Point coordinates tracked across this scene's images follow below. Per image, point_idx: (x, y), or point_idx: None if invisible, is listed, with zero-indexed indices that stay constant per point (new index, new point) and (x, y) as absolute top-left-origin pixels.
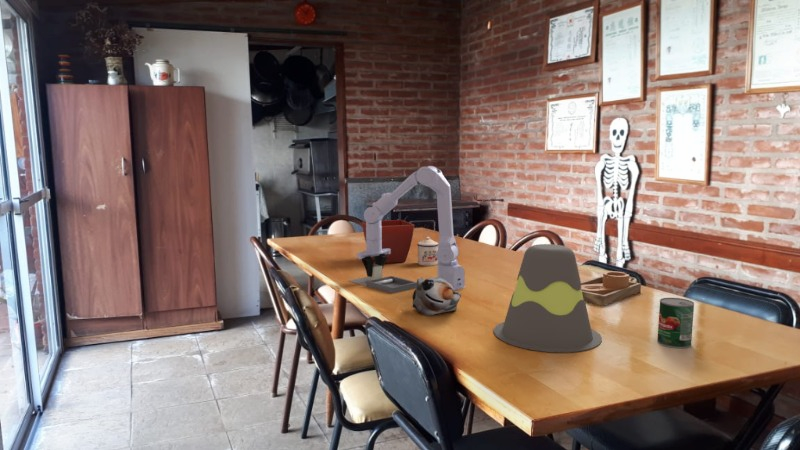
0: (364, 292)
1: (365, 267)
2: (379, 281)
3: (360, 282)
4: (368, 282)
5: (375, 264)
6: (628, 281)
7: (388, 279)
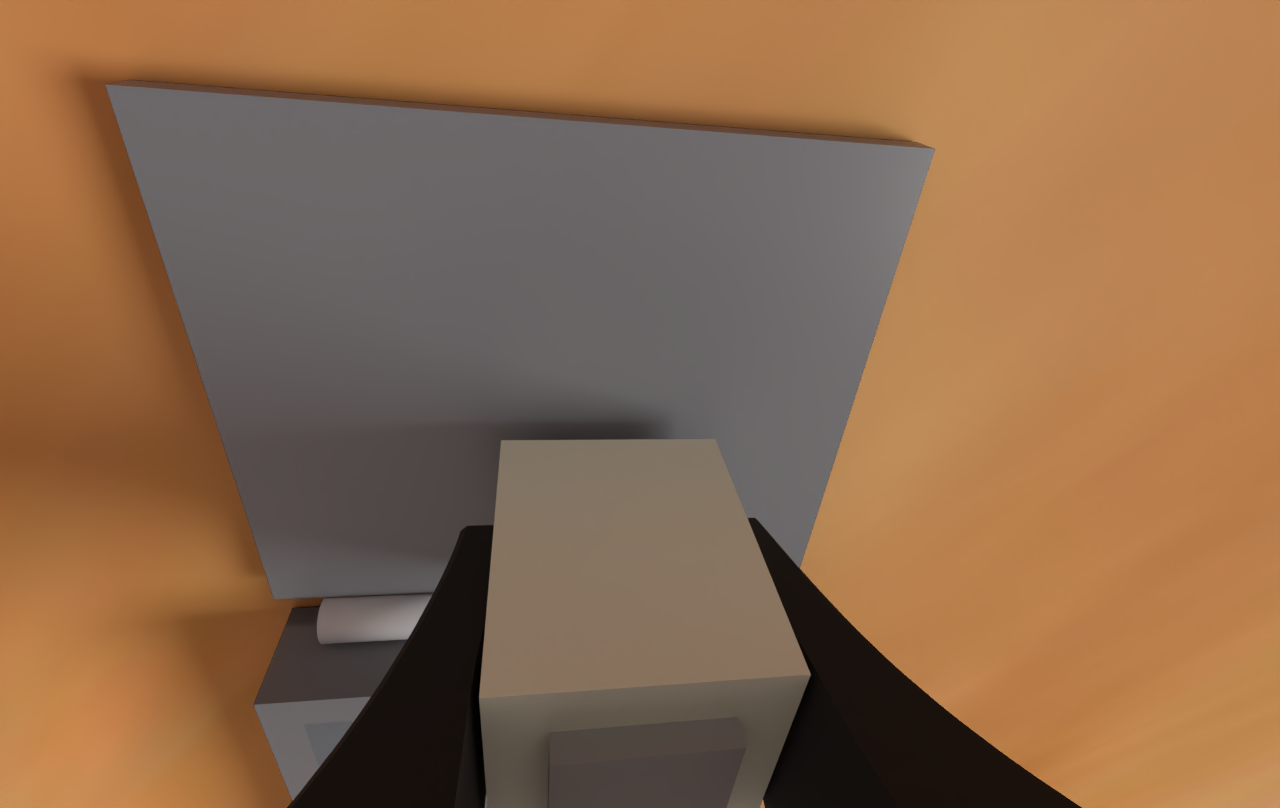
0: (133, 739)
1: (382, 705)
2: None
3: (318, 424)
4: (271, 722)
5: (706, 780)
6: None
7: None
